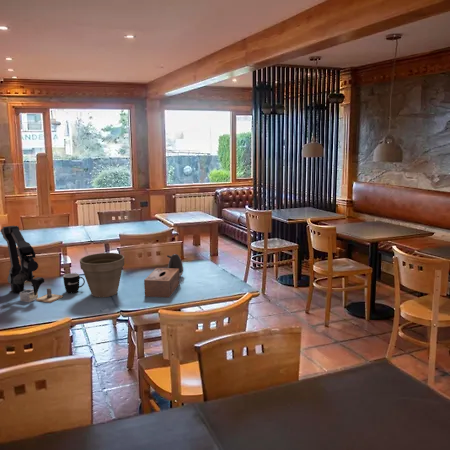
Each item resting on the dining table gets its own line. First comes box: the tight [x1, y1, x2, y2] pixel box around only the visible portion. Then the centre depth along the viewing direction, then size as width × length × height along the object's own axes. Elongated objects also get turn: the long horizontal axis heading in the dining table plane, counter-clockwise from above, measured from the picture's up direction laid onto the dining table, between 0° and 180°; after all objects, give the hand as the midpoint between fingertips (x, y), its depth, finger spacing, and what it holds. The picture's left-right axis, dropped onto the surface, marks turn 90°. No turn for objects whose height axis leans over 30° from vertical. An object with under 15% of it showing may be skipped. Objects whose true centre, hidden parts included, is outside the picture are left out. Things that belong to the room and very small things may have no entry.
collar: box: [19, 288, 39, 303], centre depth 273 cm, size 7×7×5 cm
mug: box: [62, 272, 86, 294], centre depth 287 cm, size 12×9×10 cm
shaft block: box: [35, 287, 63, 304], centre depth 274 cm, size 10×10×6 cm
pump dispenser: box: [166, 253, 184, 278], centre depth 315 cm, size 10×10×15 cm
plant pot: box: [79, 252, 125, 298], centre depth 281 cm, size 25×25×22 cm
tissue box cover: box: [143, 267, 180, 298], centre depth 289 cm, size 26×14×10 cm, turn 172°
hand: (28, 294), depth 273 cm, fingers open, 9 cm apart
